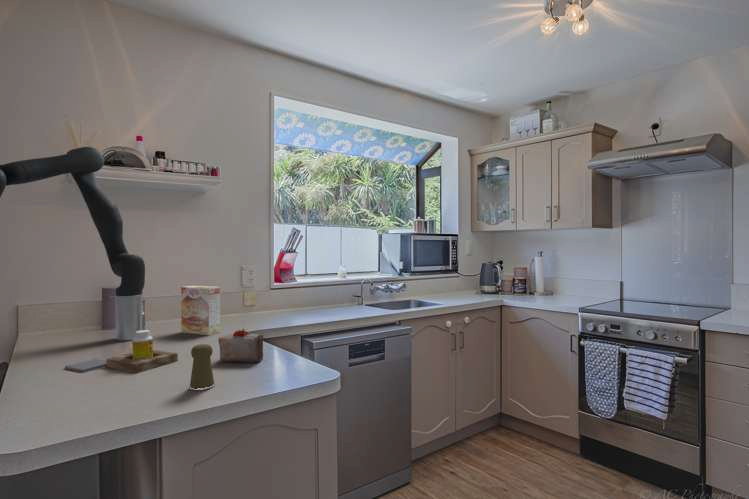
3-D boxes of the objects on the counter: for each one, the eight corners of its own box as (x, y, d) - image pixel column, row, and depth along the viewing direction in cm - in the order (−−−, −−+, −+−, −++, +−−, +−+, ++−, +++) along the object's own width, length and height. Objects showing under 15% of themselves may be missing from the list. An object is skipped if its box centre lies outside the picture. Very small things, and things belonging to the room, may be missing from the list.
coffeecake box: (180, 332, 180) (180, 286, 180) (193, 329, 187) (193, 285, 187) (208, 335, 175) (208, 287, 174) (220, 332, 181) (220, 286, 181)
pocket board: (148, 355, 143) (148, 348, 143) (177, 360, 137) (177, 353, 137) (106, 366, 131) (106, 359, 130) (137, 372, 125) (136, 364, 124)
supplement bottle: (152, 364, 133) (152, 331, 132) (132, 367, 130) (131, 333, 130) (153, 360, 138) (152, 328, 137) (133, 362, 135) (133, 330, 135)
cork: (194, 383, 115) (193, 342, 115) (217, 382, 115) (217, 342, 115) (186, 391, 109) (185, 348, 109) (210, 390, 109) (210, 347, 109)
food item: (215, 363, 134) (214, 332, 134) (224, 357, 142) (224, 327, 142) (258, 364, 133) (258, 332, 133) (265, 357, 141) (265, 327, 141)
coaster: (95, 361, 137) (95, 358, 137) (113, 364, 133) (113, 361, 133) (64, 368, 129) (64, 365, 129) (83, 372, 125) (83, 369, 125)
